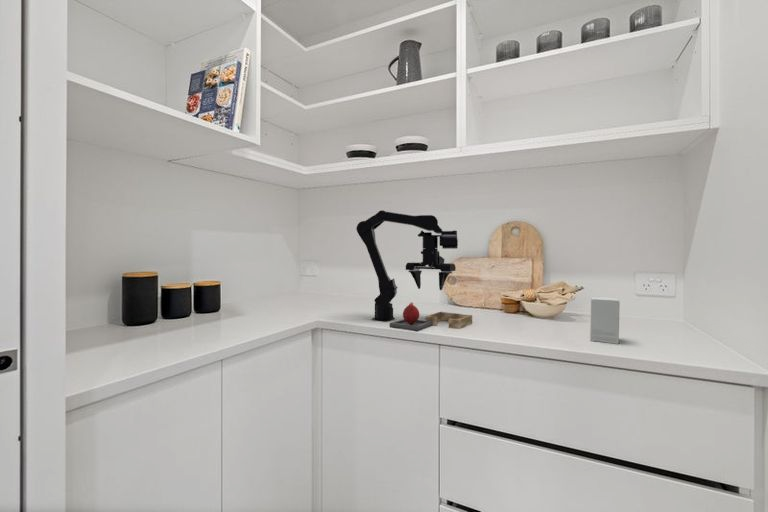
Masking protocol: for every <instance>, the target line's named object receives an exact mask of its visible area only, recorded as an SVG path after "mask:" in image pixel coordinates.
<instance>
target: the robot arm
mask: <svg viewBox="0 0 768 512" xmlns="http://www.w3.org/2000/svg"><path fill="white" fill-rule="evenodd" d="M385 222H388V223H394V224H395V223H396V224H401V225H408V226H414V227H416V228H419V229H423V230H425V231H426V232H425V231H423V230H421V231H420V232H419V233H418V234H417V237H418V238H419V237H420V238H421V237H422V251H421V250H420V254H421V255H422V261H420V262H414V261H413V262H412V261H411V262H406V264H405V270H406V271H407V272H408V273H410V275H411V277H412V278H413V280H414V282H415V284H416V286H417V289H419V290H420V289H421V285H422V284H421V280H422V279H421V274H422V272H423V271H422V270H439V271H438V287H439V291H442V290H443V288H444V285H445V282H446V280H447V278H448V277H449V275H450V274H453V272H455V271H456V269H457V268H456V264H455V263H452V262H451V263H449V262H448V263H447V262H446V263H445V258H443V257H442V256H441V255H440V251H439V249H438V244H439V247H441V249H443V250H445V249H454V250H455V249H456V250H457V249H458V244H459V243H458V242H459V240H458V239H459V238H458V231H457V230H443V229H442V228H441V227H440V226H439V222H438V218H437V217H436V216H435V215H432V214H425V215H424V214H420V215H413V214H412V215H411V214H405V213H397V212H392V211H385V210H383V209H381V210H379V211H378V212H377V213H376V214H374V215H372V216H370V217H369V218H368V219H366V220H362V221H359V222H358V223H357V226H356V232H357V234H358V236H359V238H360V239H361V241H362V243H364V245H365V247H366V249H367V252H368V254H369V255H368V256H369V258H370V260H371V263H372V266H373V269H374V271H375V275H376V278H377V280H378V282H377V283H378V290H379V295H377V297H375V298H374V317H372V319H371V320H373V319H375V320H376V321H381V320H382V321H383V322H387V321H388V322H389V321H392V320H395V317H394V307H393V303H392V300H393V299H394V298H395V297H396V296H397V293H398V290H397V289H398V286H397V284H396V281H395V278H392V279H391V278H390V276H389V275H388V272H387V269H386V267H385V264H384V262H383V259H382V255H381V252H380V251H379V248H378V247H379V246H378V245H377V242H376V233H375V230H376V229H378V227H379V226H381V225H382V224H383V223H385ZM427 231H428V232H427ZM432 232H433V233H434V234H433V233H432ZM438 240H439V241H438ZM438 242H439V243H438ZM456 272H457V271H456Z"/></svg>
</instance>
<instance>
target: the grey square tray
mask: <svg viewBox="0 0 768 512" xmlns="http://www.w3.org/2000/svg"><path fill="white" fill-rule="evenodd" d="M433 326H434V325H433V321H426V319H425V320H423V319H418V320H417V321H416V322H415V323H414V324H413V325H410V324H408V323H407V322H406V321H405V320H404V318H403V319H399V320H395V321H392V322H389V328H392V329H398V330H399V329H401V330H407V331H413V332H419V331H422V330H424V329H428V328H430V327H433Z"/></svg>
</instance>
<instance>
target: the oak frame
mask: <svg viewBox="0 0 768 512" xmlns="http://www.w3.org/2000/svg"><path fill="white" fill-rule="evenodd" d="M425 321H433V326H438V322H440V321H445V322H448V328H449V329H457V330H460V329H463V328H465V327H467V326H469V325H472V324H473V314H466V313H465V314H464V313H456V312H455V313H454V312H446V311H439V312H435V313H432V314H429V315H426V316H425Z"/></svg>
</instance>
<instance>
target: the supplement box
mask: <svg viewBox="0 0 768 512" xmlns="http://www.w3.org/2000/svg"><path fill="white" fill-rule="evenodd" d="M620 304H621V303H620V299H619V298H618V297H604V296H603V297H602V296H592V297H591V299H590V330H589V331H590V332H589V337H590V338H589V339H590V341H591V342H592V341H593V342H599V343H607V344H617V345H618V344H620V343H619V341H620Z"/></svg>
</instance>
